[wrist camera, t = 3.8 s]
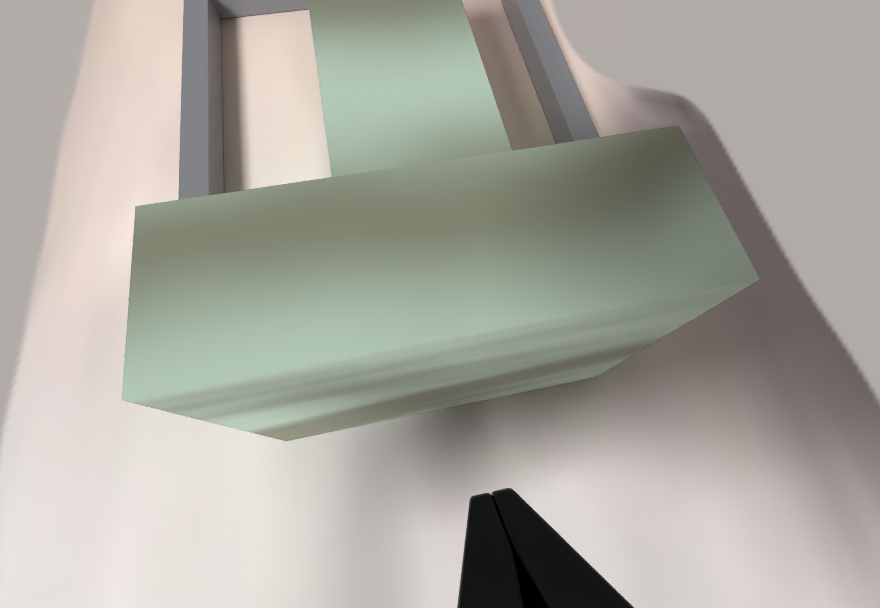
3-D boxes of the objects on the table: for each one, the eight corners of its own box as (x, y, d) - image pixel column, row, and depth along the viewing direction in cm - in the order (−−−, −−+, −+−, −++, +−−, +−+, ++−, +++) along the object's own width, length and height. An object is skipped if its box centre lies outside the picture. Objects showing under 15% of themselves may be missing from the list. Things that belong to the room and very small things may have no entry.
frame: (610, 215, 20) (624, 195, 18) (196, 285, 18) (176, 268, 16) (510, -27, 26) (514, -55, 25) (198, 7, 24) (184, -22, 23)
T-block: (595, 377, 17) (760, 278, 8) (285, 441, 16) (121, 400, 7) (504, 112, 22) (550, -114, 14) (265, 144, 21) (155, -79, 12)
